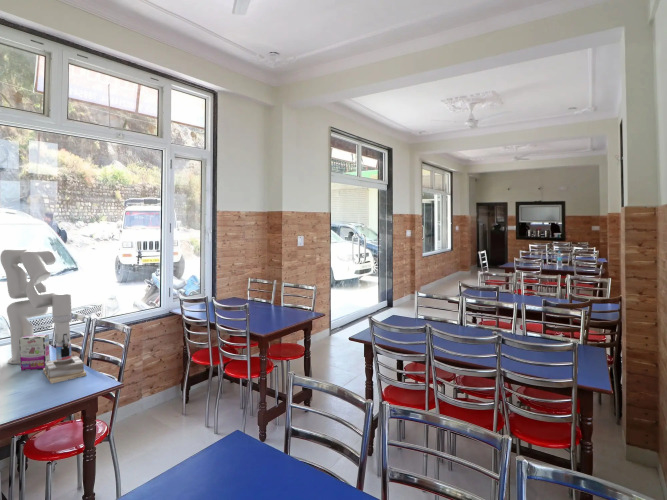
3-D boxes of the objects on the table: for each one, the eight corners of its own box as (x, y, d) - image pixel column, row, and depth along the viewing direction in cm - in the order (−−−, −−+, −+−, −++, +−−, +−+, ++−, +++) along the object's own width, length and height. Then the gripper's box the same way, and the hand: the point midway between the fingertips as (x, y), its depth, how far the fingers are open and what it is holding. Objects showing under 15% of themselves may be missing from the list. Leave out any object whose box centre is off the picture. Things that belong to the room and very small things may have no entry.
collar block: (43, 371, 193) (42, 360, 192) (76, 364, 202) (76, 354, 202) (50, 383, 178) (50, 371, 178) (86, 375, 188) (85, 364, 188)
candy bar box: (50, 365, 201) (49, 334, 199) (45, 369, 196) (44, 337, 194) (25, 367, 198) (24, 335, 197) (20, 370, 193) (18, 338, 192)
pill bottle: (64, 362, 186) (63, 339, 185) (53, 361, 187) (52, 338, 187) (74, 358, 192) (73, 335, 191) (64, 357, 193) (63, 334, 193)
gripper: (49, 316, 192) (51, 352, 193) (56, 322, 180) (58, 361, 181) (67, 313, 197) (69, 348, 198) (75, 320, 185) (77, 357, 186)
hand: (63, 354), depth 190 cm, fingers closed on pill bottle, 6 cm apart
